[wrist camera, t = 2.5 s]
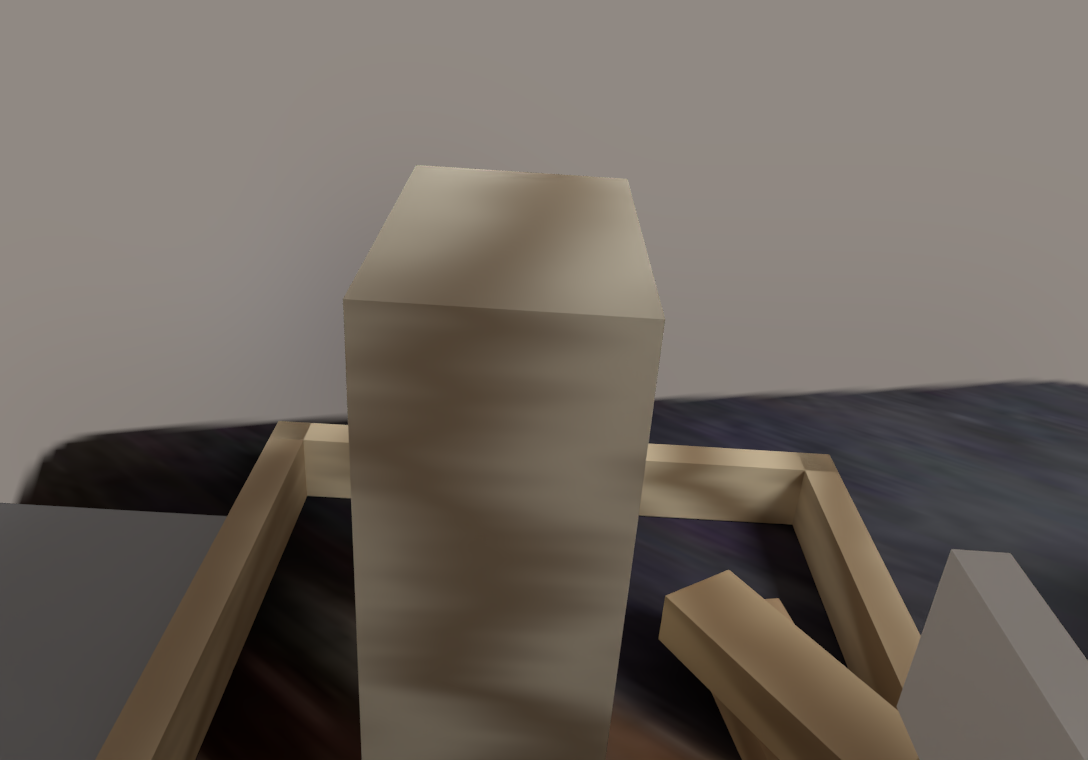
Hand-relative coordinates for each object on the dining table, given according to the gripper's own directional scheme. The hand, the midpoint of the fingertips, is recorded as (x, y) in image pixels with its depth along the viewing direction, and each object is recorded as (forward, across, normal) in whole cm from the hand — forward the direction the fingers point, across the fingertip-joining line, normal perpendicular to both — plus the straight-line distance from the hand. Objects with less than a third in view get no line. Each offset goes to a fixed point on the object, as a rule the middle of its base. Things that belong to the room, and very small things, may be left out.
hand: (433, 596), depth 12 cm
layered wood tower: (+12, +1, -16) cm, 20 cm away
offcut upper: (+13, +10, -15) cm, 22 cm away
